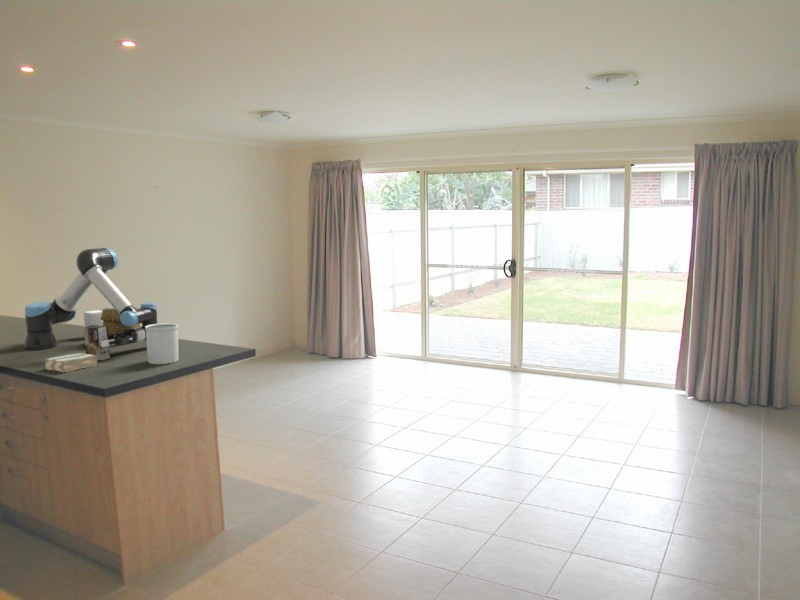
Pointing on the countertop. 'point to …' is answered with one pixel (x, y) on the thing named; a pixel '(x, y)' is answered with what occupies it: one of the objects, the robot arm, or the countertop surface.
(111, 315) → the clay pot
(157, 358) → the utensil holder
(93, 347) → the coffee box
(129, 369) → the countertop surface
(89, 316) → the white canister
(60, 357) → the base block
